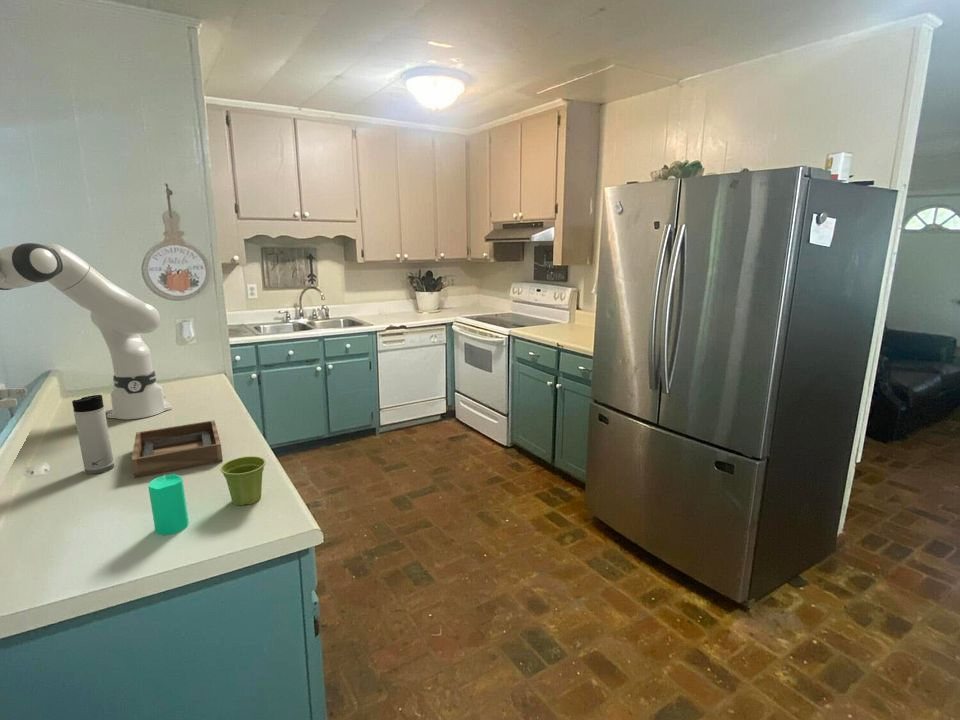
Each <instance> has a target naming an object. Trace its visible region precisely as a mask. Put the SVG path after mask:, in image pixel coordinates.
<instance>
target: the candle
mask: <svg viewBox="0 0 960 720" xmlns="http://www.w3.org/2000/svg"><path fill="white" fill-rule="evenodd" d="M147 488H148V493H149V499H150V504H151V512H152V517H153V518H152V519H153V523H154V531H155V533H156V534H157V535H159V536H170V535H175V534H177V533H180V532H182V531H184V530H185V529H186V528H188V527H189V524H190V523H189V516H188V510H187V509H188V507H187V501H186V496H185V495H186V494H185V488H184V481H183V478H182V477H181V476H180V475H178V474H175V473H173V474H166V473H163V475H162V476H159V477H156V478H154V479H152V480H151V481H150V482H149V483H148V487H147Z"/></svg>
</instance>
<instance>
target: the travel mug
mask: <svg viewBox="0 0 960 720" xmlns="http://www.w3.org/2000/svg"><path fill="white" fill-rule="evenodd" d="M71 402H72V408H73V416H74V420H75V426H76V432H77V435H78V436H77V437H78V442H79V447H80V452H81V459H82V463H83V469H84V473H85V474H88V475H97V474H101V473H106V472H109V471H110V470H112V469H113V468H114V467H115V462H114V456H113V450H112V443H111V440H110V438H111V437H110V433H109V426H108V421H107V414H106V410H105V405H104V400H103V395H102V394H93V395H88V396H83V397H81V398H80V399H79V398H78V399H74V400H72V401H71Z"/></svg>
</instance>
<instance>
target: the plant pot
mask: <svg viewBox="0 0 960 720" xmlns="http://www.w3.org/2000/svg"><path fill="white" fill-rule="evenodd" d="M266 464H267V463H266V459H265V458H263V457H262V456H255V455H251V456H250V455H249V456H242V457H237V458H234V459H231V460H228V461H226V462H225V463H223V464H222V465H221V466H220V473H222V474H223V477H224V478H225V480H226V483H227V488H228V491H229V494H230V499H231V501H232V503H233V504H234V505H236V506H245V505H247V504H248V505H249V504H250V505H251V504H254V503H256V502H258V501H259V500H261V498H262V489H263V488H262V487H263V486H262V483H263V472H264V469H265V466H266Z"/></svg>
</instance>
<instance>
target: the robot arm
mask: <svg viewBox="0 0 960 720" xmlns="http://www.w3.org/2000/svg"><path fill="white" fill-rule="evenodd" d="M45 282H48V283H49V284H51V285H52V286H53V287H54V288H56V289H57V290H58V291H59V292H61V293H62V294H63V295H65V296H66V297H67V298H69V299H70V300H72V301H73V302H75V303H76V304H77V305H79V306H80V307H81V308H84V309H86V310H89V311H90V319H91V322H92V323H93V325H94V326H96V327H97V328H98V330H99V331H100V333H101V336H102V338H103V339H104V341H105V344H106V346H107V348H108V351H109V355H110V358H111V363H112V368H113V372H114V373H113V384H114V387H115V388H114V389H113V390H112V392H110V401H111V407H112V408H111V409H112V410H110V411H109V412H108V413H107V414H106V419H118V420H135V419H136V420H137V419H143V418H148V417H152V416H156V415H158V414H161V413H163V412H165V411H169V410H172V409H173V407H172V405H171V403H169V402H168V401H167V400H166V397H165V395H164V392H163V387H162V386H161V385H160V384H158V383H157V375H156V372H155V370H154V367H153V366H154V365H153V359H152V353H151V350H150V348H149V346H148V345H147V344H146V343H145V341H143V339H142V336H141V335H145V334H151V333H153V332H154V331H155V330H156V329H157V328H158V327H159V326H160V322H161V315H160V312H159V311H158V309H157V308H155V306H153V305H150V304H148V303H146V302H144V301H142V300H141V299H140V298H138V297H136V296H134V295H133V294H132V293H130V292H128V291H126V290H124V289H123V288H121V287H120V286H118V285H116V284H115V283H113V282H112V281H110V279H108V278H106V277H105V276H103V275H102V273H100V272H99V271H97V269H95V268H94V267H93V266H92V265H90V264H89V263H88V262H87V261H85V260H84V259H82V258H81V257H80V256H78V255H77V254H75V253H74V252H72V251H71V250H69V249H67V248H66V247H64V246H62V245H60V244H57V243H47V244H44V245H43V244H40V243H35V242H34V243H32V242H30V243H29V242H27V243H26V242H25V243H21V244H17V245H16V244H15V245H9V246H6V247H2V248H0V291H1V290H2V291H8V290H13V289H22V288H28V287H31V286H33V285H36V284H39V283H45ZM27 394H28V390H27V388H25V387H20V388H19V387H18V388H15V387H14V388H13V387H6V384H5V383H0V410H4V409H8V408H15V407H17V405H19V401H18V399H17V398H21V397H25V396H26V395H27ZM5 398H6V399H5Z"/></svg>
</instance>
